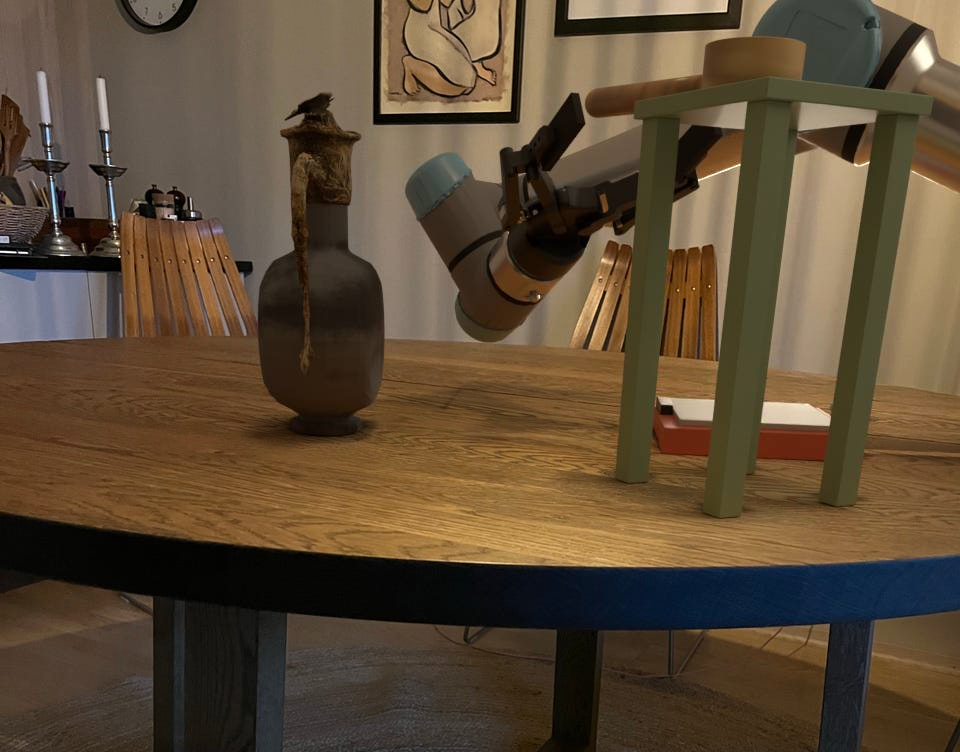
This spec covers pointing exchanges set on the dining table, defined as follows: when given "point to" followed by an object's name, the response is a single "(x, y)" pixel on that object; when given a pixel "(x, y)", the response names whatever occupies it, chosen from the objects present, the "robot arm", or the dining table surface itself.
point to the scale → (780, 436)
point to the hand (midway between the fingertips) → (649, 114)
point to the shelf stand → (764, 269)
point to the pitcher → (321, 289)
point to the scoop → (709, 73)
